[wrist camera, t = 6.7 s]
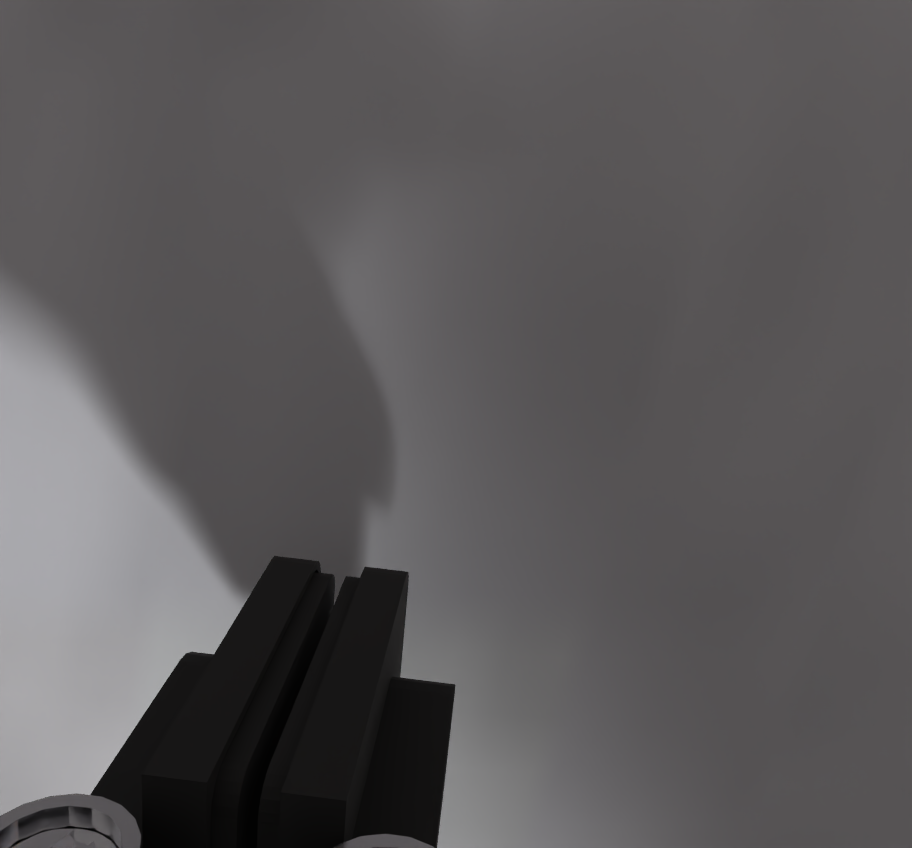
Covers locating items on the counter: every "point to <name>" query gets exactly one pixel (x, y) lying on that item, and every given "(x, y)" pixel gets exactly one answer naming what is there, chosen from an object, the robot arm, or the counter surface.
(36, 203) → the counter surface
